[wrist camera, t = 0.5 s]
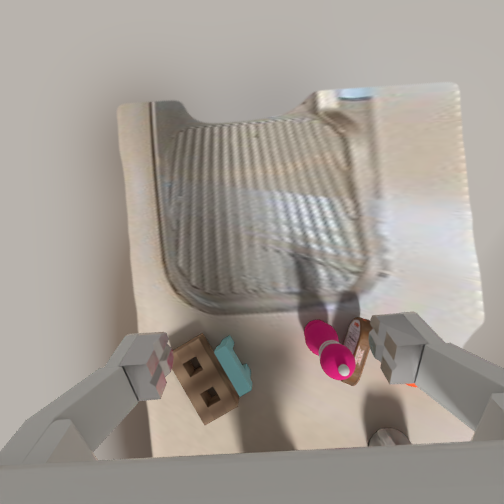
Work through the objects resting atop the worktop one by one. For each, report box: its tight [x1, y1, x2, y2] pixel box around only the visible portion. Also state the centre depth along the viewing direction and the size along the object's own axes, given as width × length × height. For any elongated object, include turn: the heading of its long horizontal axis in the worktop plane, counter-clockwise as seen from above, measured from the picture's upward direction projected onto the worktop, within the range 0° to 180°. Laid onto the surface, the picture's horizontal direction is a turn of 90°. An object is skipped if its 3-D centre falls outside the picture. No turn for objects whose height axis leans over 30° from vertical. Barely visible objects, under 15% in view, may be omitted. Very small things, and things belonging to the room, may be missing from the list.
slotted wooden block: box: [172, 333, 240, 425], centre depth 58 cm, size 18×9×4 cm, turn 31°
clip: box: [214, 336, 252, 397], centre depth 55 cm, size 11×3×8 cm, turn 31°
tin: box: [341, 317, 373, 386], centre depth 54 cm, size 15×3×8 cm, turn 163°
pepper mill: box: [304, 320, 356, 380], centre depth 49 cm, size 7×7×20 cm
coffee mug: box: [369, 428, 412, 447], centre depth 53 cm, size 13×10×10 cm
